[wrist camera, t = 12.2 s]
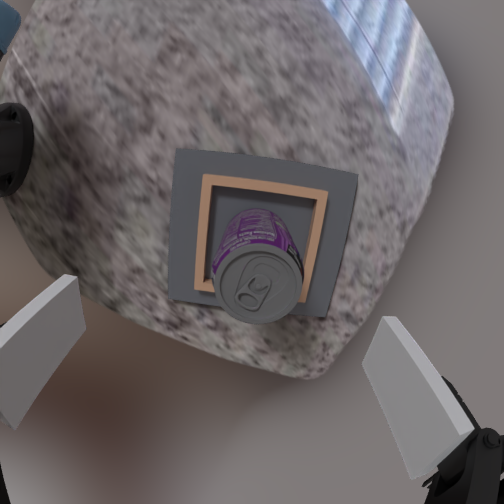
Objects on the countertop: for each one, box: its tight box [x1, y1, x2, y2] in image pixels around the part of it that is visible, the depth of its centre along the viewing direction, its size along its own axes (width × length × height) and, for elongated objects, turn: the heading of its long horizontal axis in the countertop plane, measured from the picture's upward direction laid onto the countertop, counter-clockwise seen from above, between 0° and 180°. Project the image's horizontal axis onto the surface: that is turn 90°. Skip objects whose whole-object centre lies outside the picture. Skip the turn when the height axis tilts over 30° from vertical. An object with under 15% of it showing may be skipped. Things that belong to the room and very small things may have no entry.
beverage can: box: [211, 209, 304, 324], centre depth 24 cm, size 7×7×12 cm
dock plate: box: [168, 149, 358, 317], centre depth 30 cm, size 20×18×2 cm
